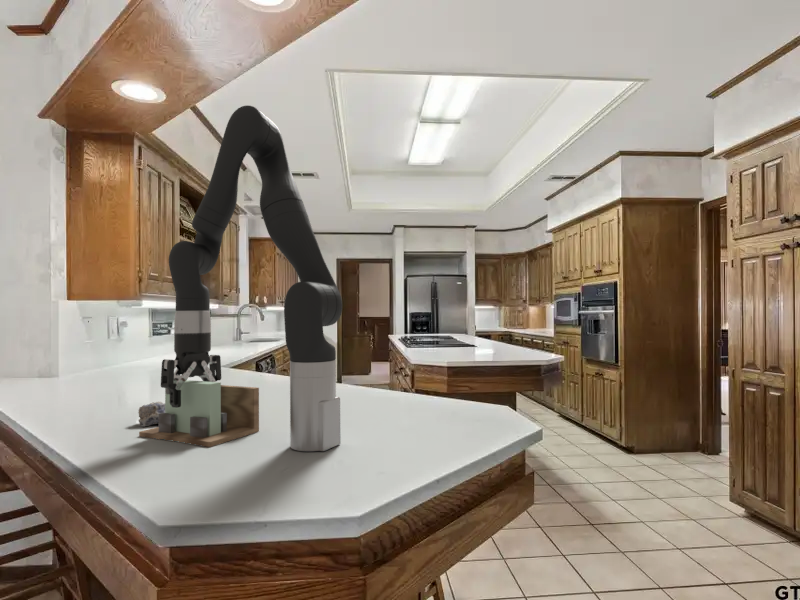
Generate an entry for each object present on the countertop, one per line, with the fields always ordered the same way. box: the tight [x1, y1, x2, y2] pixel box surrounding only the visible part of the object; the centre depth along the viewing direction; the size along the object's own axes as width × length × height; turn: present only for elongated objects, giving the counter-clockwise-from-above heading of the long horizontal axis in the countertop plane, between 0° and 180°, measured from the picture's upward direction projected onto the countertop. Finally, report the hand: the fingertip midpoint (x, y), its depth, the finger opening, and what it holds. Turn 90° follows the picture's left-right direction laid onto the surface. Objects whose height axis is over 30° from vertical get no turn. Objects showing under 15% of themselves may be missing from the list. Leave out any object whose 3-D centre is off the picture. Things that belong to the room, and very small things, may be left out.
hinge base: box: [138, 384, 260, 448], centre depth 106 cm, size 22×14×10 cm, turn 64°
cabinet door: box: [164, 379, 222, 436], centre depth 104 cm, size 14×4×11 cm, turn 64°
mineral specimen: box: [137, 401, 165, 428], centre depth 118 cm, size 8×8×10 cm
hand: (192, 403), depth 104 cm, fingers open, 8 cm apart
